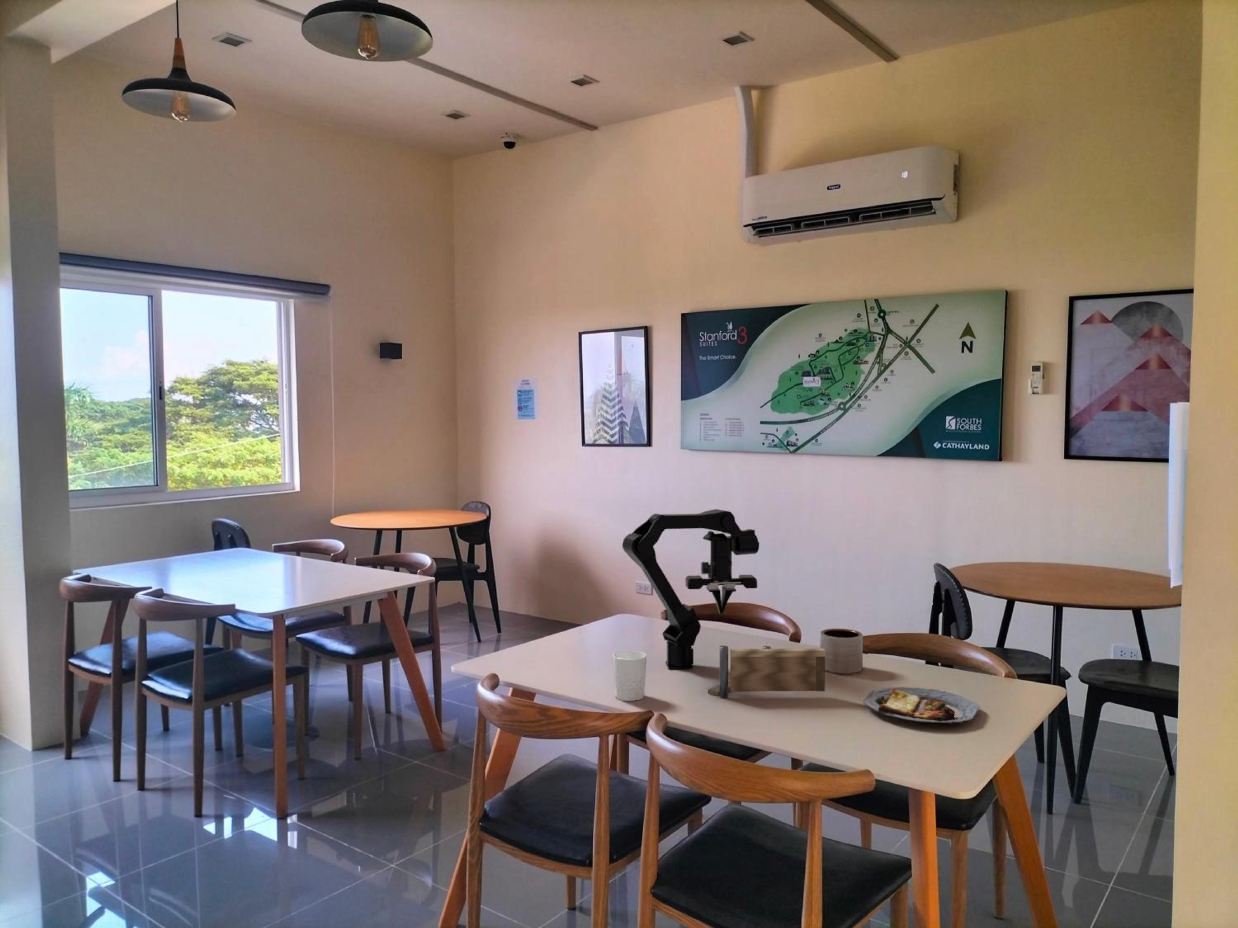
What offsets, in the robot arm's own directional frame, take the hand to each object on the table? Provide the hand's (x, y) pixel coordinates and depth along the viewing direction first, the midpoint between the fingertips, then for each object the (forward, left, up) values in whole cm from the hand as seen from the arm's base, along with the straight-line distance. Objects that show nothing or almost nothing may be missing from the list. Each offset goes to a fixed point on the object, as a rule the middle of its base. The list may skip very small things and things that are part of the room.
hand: (721, 613), depth 233 cm
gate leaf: (+8, -32, -12) cm, 34 cm away
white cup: (-27, -29, -13) cm, 42 cm away
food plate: (+37, -44, -14) cm, 59 cm away
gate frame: (+2, -21, -13) cm, 25 cm away
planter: (+30, -10, -13) cm, 34 cm away
